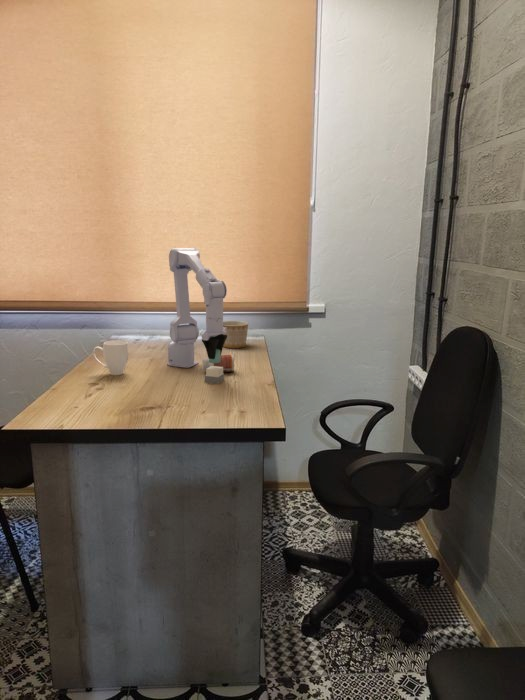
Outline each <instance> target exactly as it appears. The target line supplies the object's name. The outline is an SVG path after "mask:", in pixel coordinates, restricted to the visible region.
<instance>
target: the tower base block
mask: <svg viewBox="0 0 525 700" xmlns="http://www.w3.org/2000/svg"><path fill="white" fill-rule="evenodd" d="M223 381H225V373H223V374H222V375H221V376H219V377H211V376H206V374H205V375H204V383H209V384H217V385H218V384H220V383H222V382H223Z"/></svg>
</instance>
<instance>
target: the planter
mask: <svg viewBox="0 0 525 700" xmlns="http://www.w3.org/2000/svg"><path fill="white" fill-rule="evenodd" d="M223 327H227V333H226V334H223V335H227V338H226V340H225V342H224V345H223V348H226V349H241V348H244V347H246V346H247V340H248V331H249V328H248V327H249V323H248V322H247V321H244V320H243V321H241V320H223Z"/></svg>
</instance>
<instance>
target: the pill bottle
mask: <svg viewBox="0 0 525 700" xmlns="http://www.w3.org/2000/svg"><path fill="white" fill-rule="evenodd" d="M210 366H218V367H223V373H226V372H228V373H229V372H234V370H235V357H234V355H233V354H221V356H220V362H219V363H210V362H209V358H208V357H202V371H206V369H207V368H209V367H210Z"/></svg>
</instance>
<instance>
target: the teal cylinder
mask: <svg viewBox="0 0 525 700" xmlns="http://www.w3.org/2000/svg"><path fill="white" fill-rule="evenodd" d="M209 362H210V363H219V362H220V350H219V349H216V355H215V359H209Z"/></svg>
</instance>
